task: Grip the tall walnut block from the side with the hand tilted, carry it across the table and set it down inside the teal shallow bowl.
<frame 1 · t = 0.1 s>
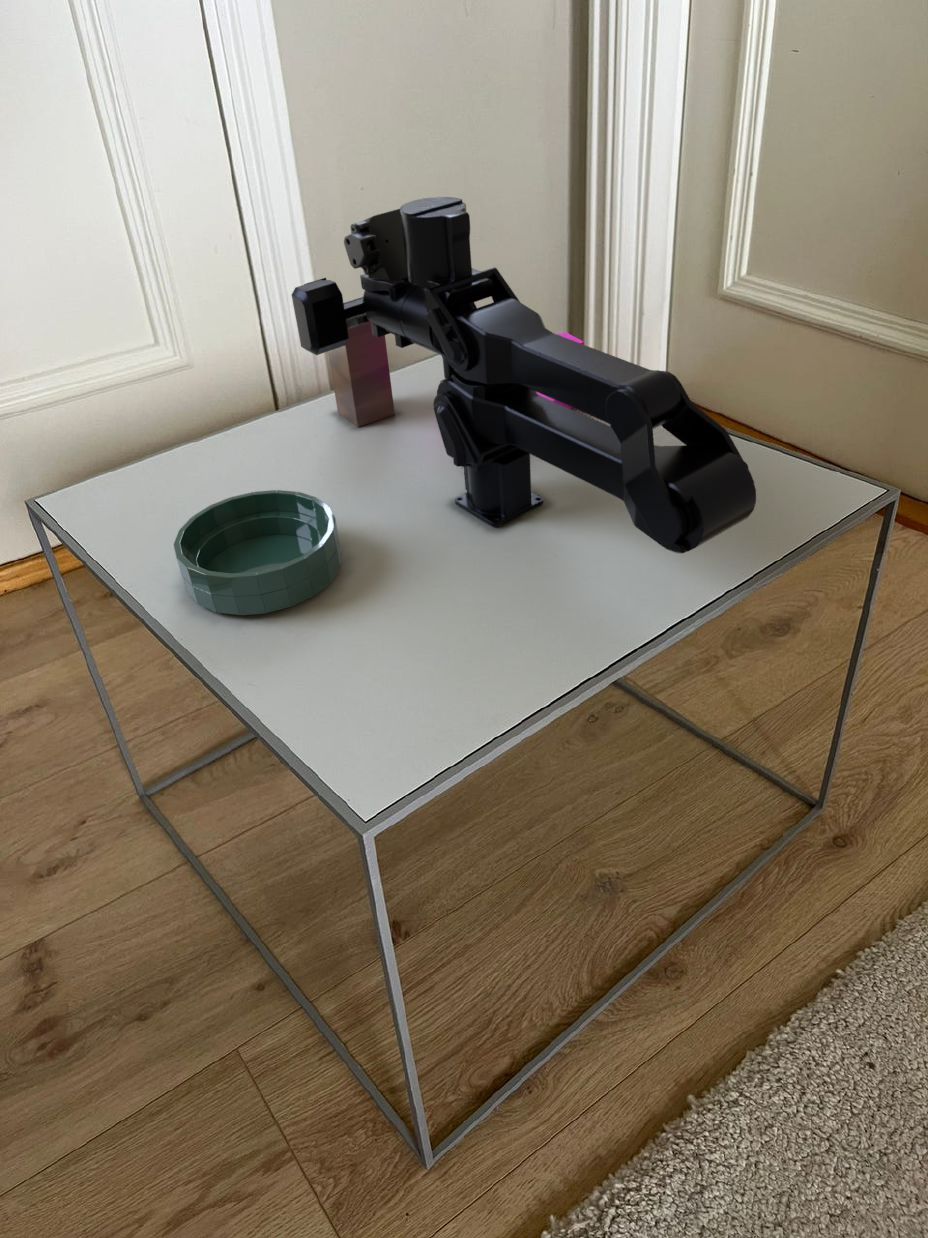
hand: (338, 280, 100), 17 cm above the table, tool horizontal, fingers open, 9 cm apart
teal shallow bowl: (265, 572, 87), on the table
walnut block: (366, 413, 112), on the table
toy block: (526, 421, 107), on the table
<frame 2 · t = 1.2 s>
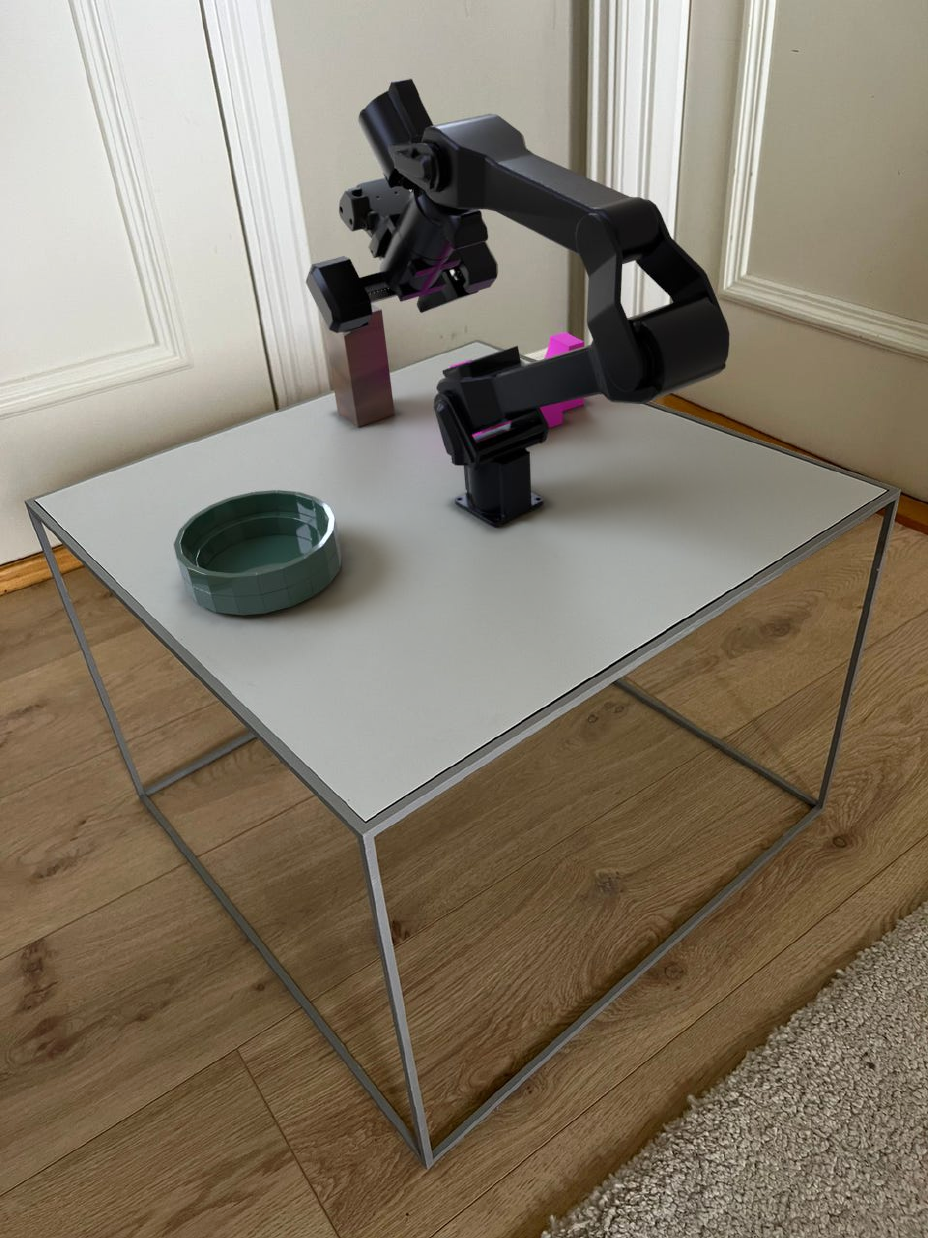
hand: (382, 319, 99), 13 cm above the table, tool tilted 45°, fingers open, 9 cm apart
nothing on the table moved.
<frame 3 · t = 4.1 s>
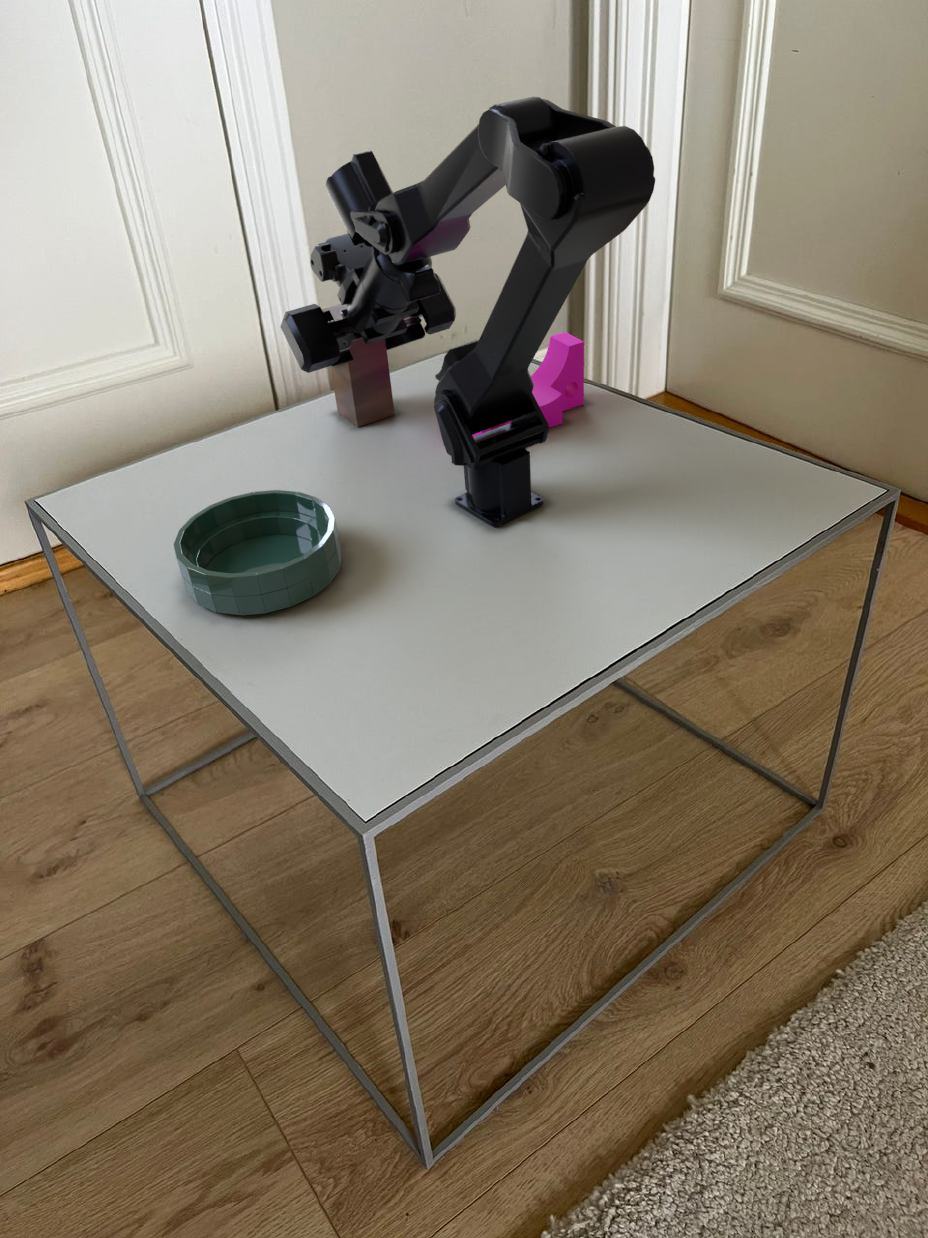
hand: (352, 356, 109), 7 cm above the table, tool tilted 45°, fingers closed on walnut block, 5 cm apart
walnut block: (366, 413, 112), on the table, touching gripper
everything else where it was.
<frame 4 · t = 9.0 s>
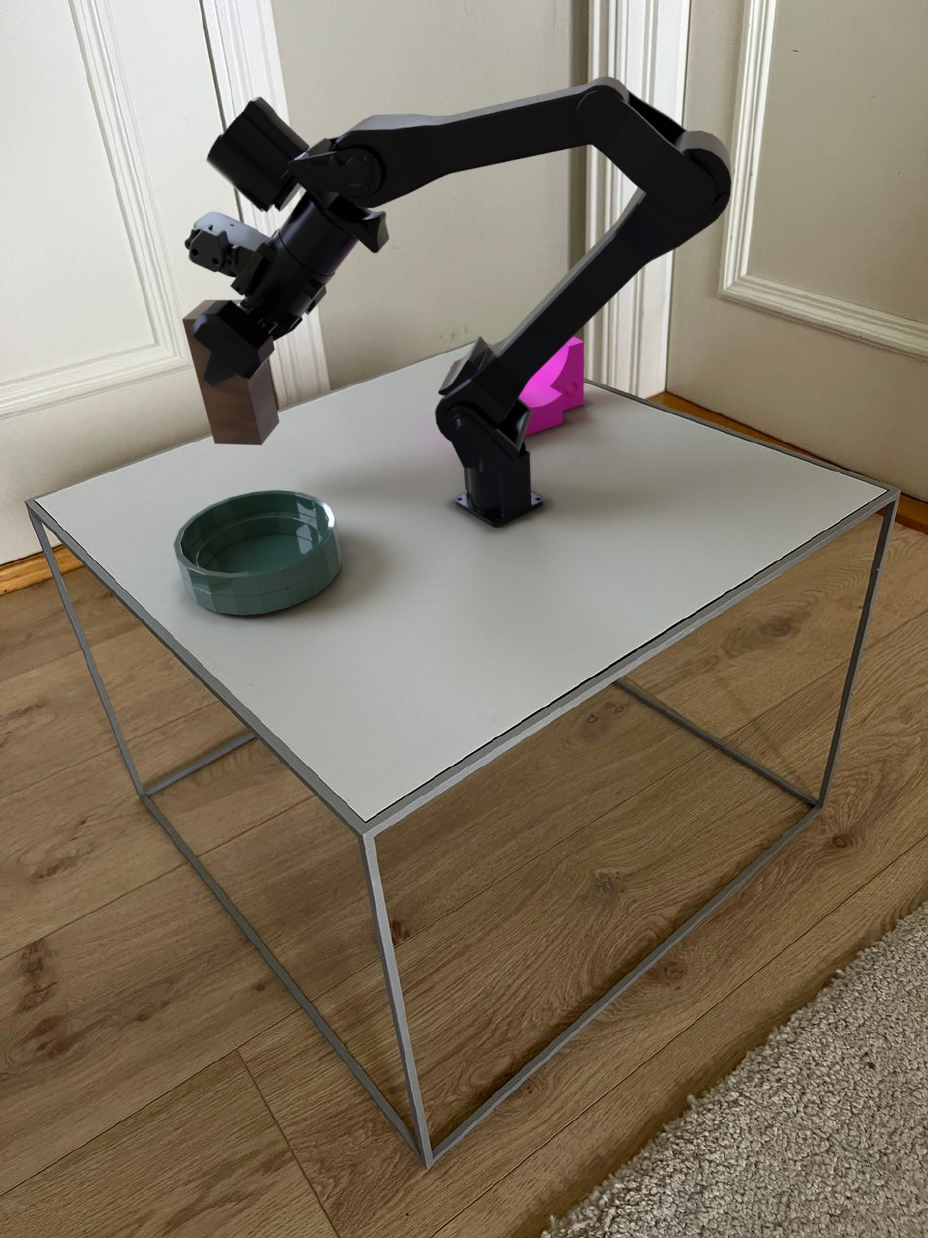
hand: (219, 369, 90), 14 cm above the table, tool tilted 45°, fingers closed on walnut block, 5 cm apart
walnut block: (247, 432, 94), point 7 cm above the table, touching gripper
everything else where it was.
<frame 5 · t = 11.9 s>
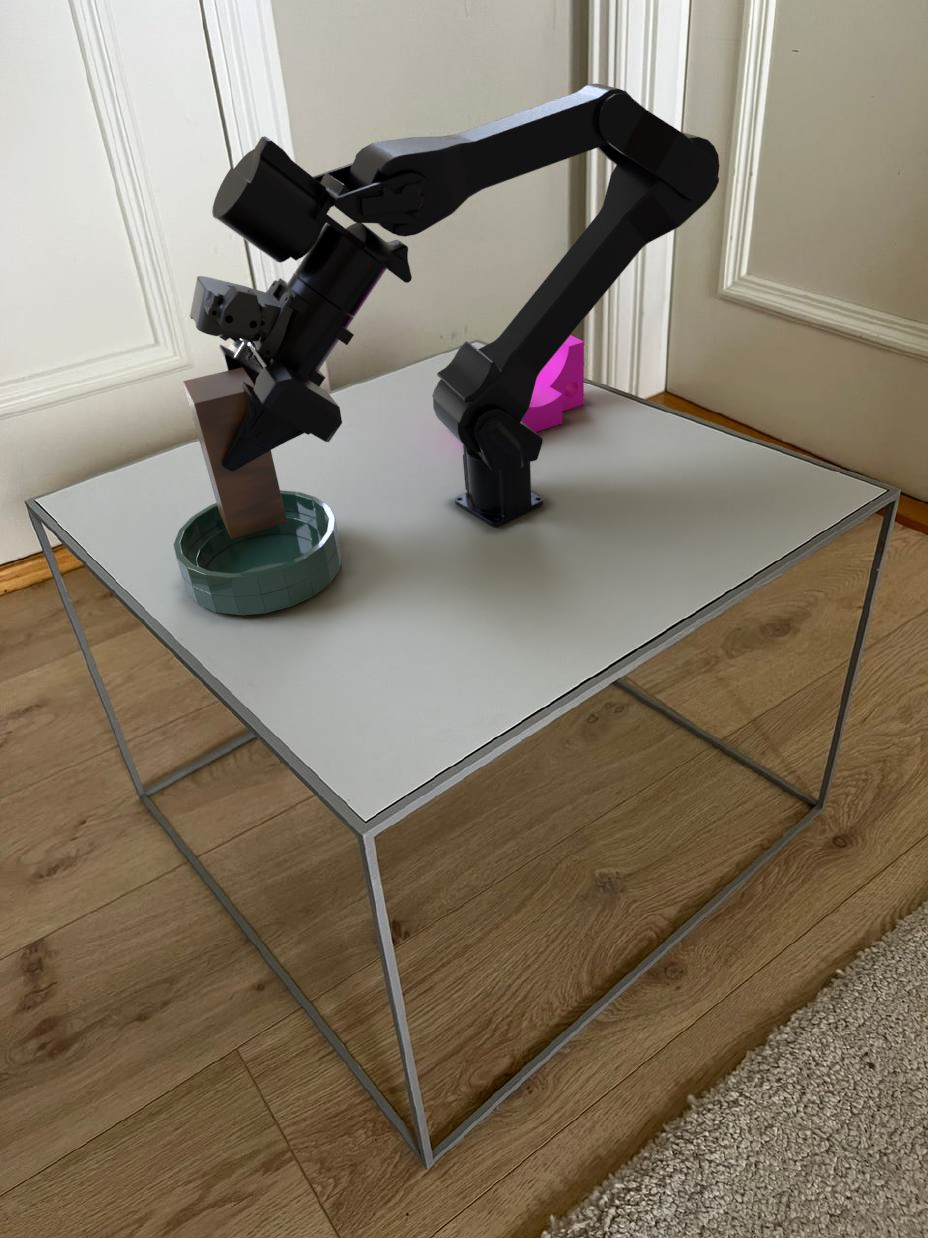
hand: (220, 454, 79), 12 cm above the table, tool tilted 45°, fingers closed on walnut block, 5 cm apart
walnut block: (252, 517, 83), point 6 cm above the table, touching gripper
everything else where it was.
when the fingers open (7 cm above the table, at t = 13.9 s): walnut block stays where it is, resting on teal shallow bowl.
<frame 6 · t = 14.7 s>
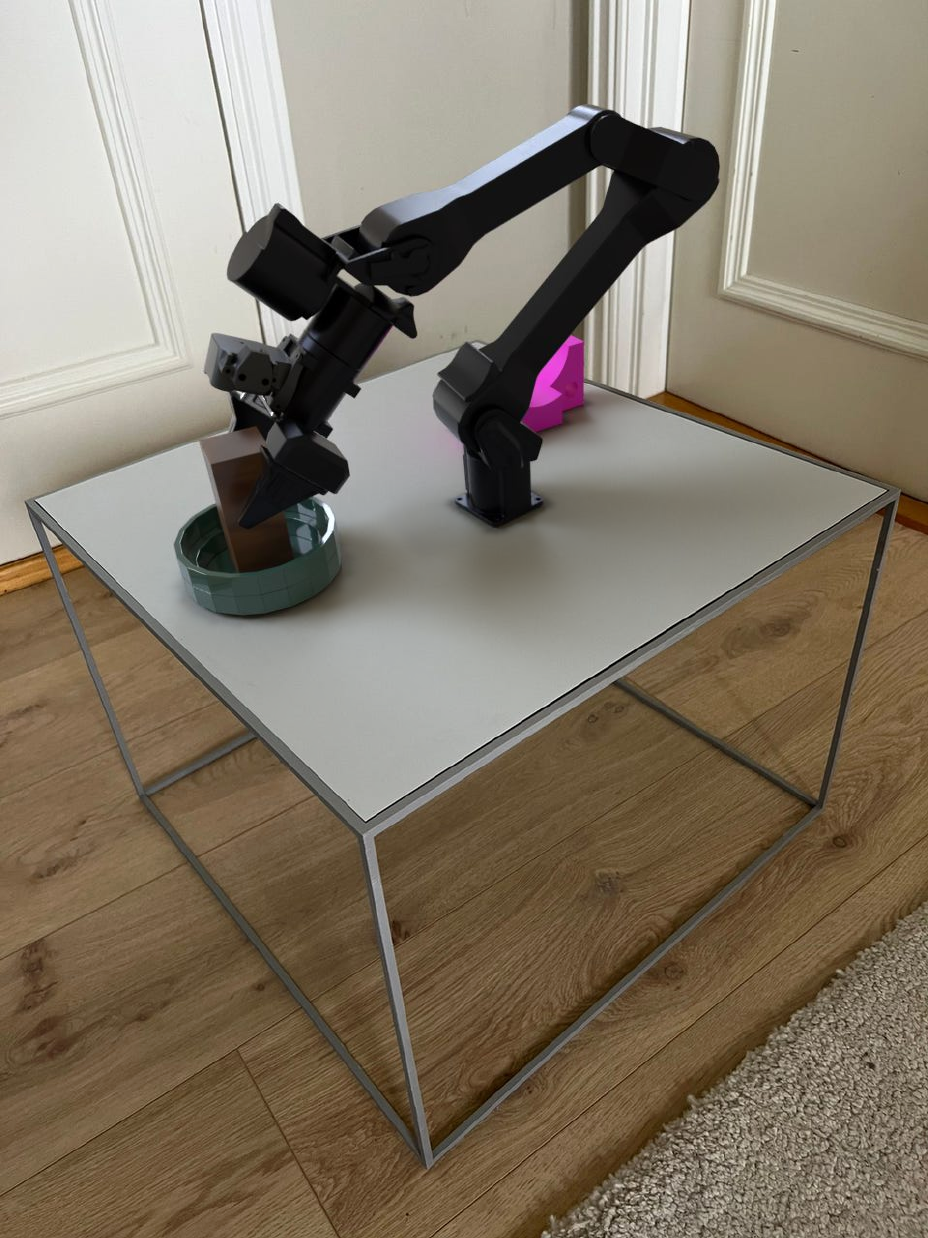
hand: (230, 501, 81), 8 cm above the table, tool tilted 45°, fingers open, 9 cm apart
walnut block: (264, 567, 86), point 1 cm above the table, touching teal shallow bowl
everything else where it was.
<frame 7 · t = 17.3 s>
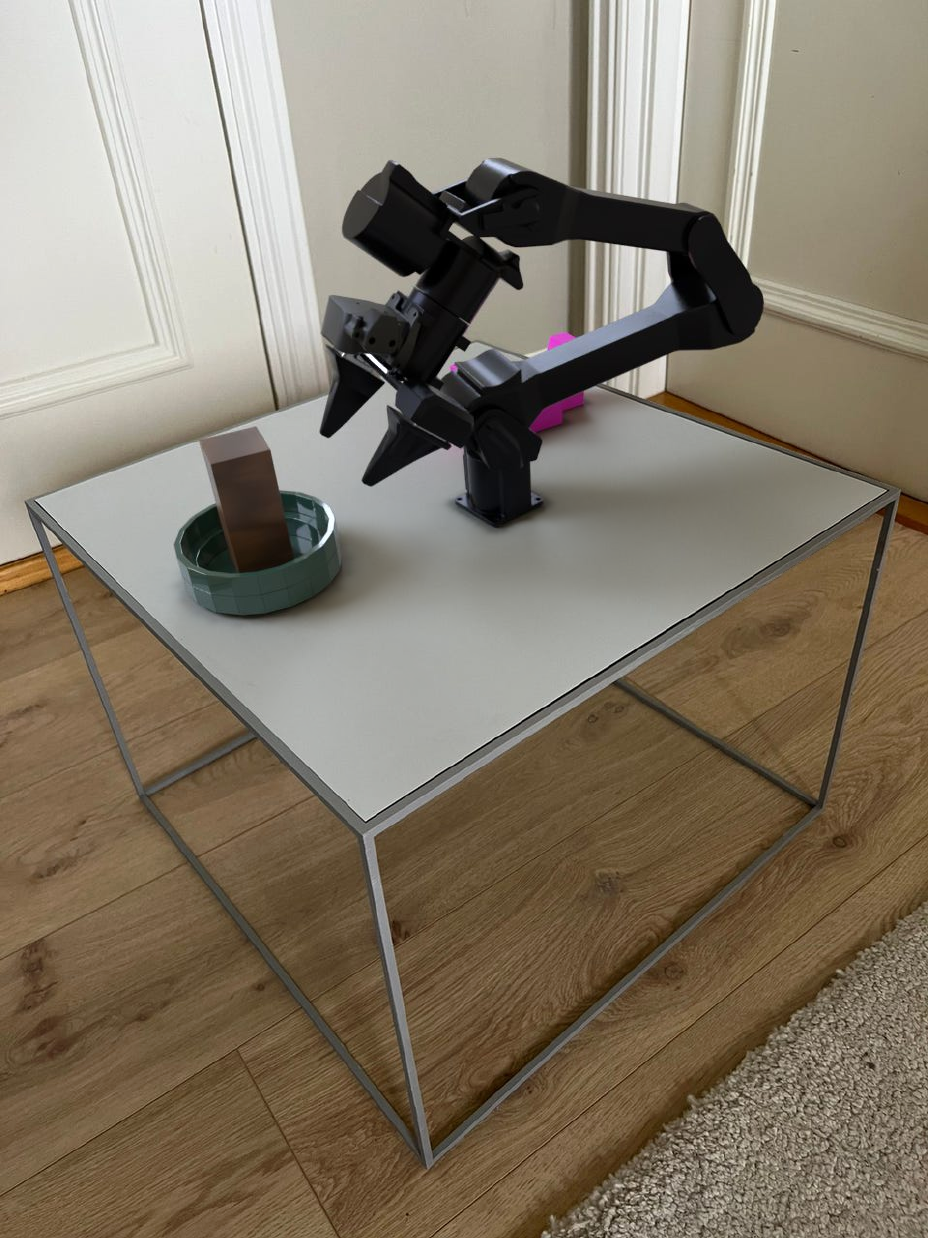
hand: (344, 459, 84), 9 cm above the table, tool tilted 40°, fingers open, 9 cm apart
nothing on the table moved.
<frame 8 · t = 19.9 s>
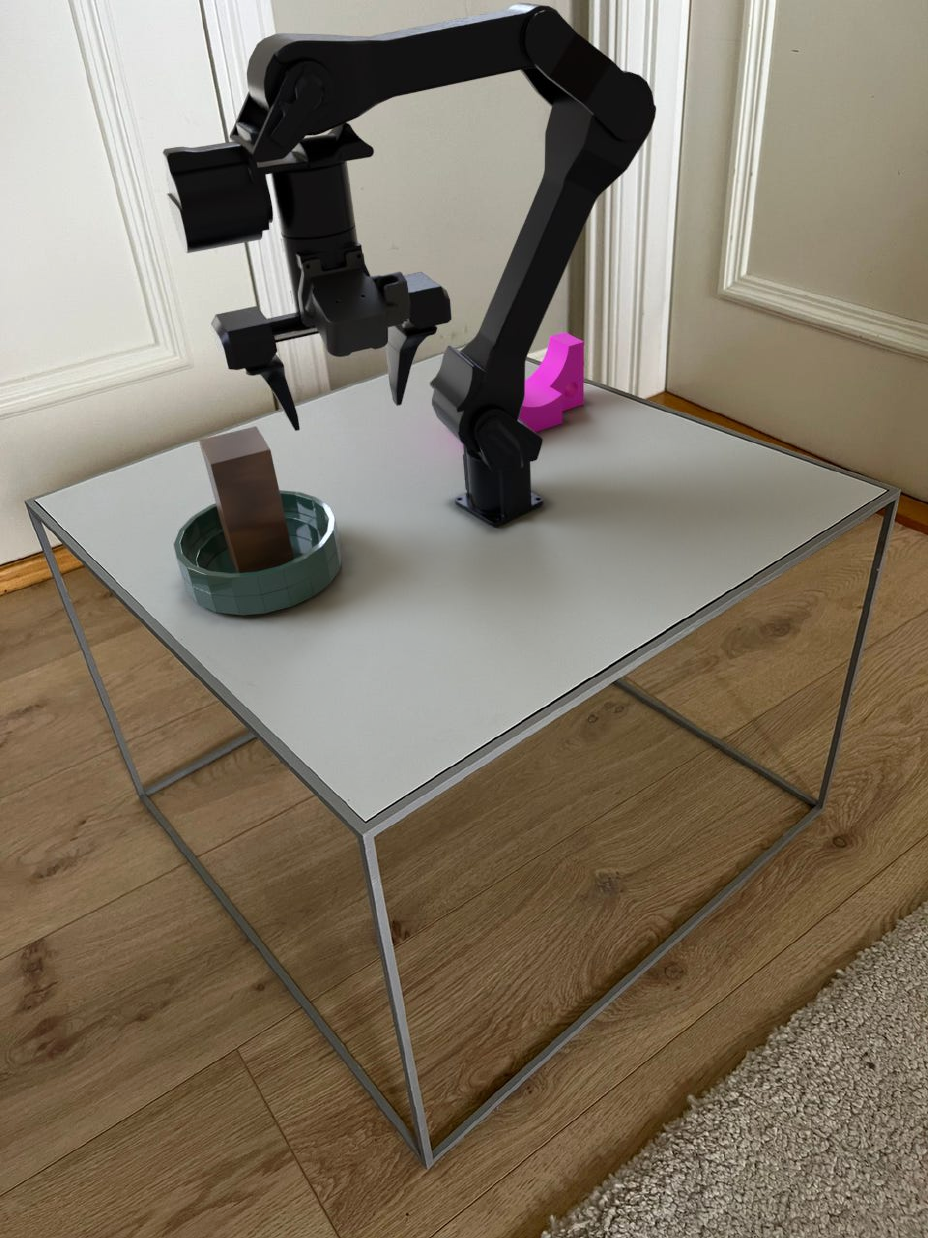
hand: (347, 416, 82), 13 cm above the table, tool pointing down, fingers open, 9 cm apart
nothing on the table moved.
at the end: walnut block inside the target area in the teal shallow bowl (0.0 cm from its centre), point 0.5 cm above the teal shallow bowl's base; the gripper is holding nothing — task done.
